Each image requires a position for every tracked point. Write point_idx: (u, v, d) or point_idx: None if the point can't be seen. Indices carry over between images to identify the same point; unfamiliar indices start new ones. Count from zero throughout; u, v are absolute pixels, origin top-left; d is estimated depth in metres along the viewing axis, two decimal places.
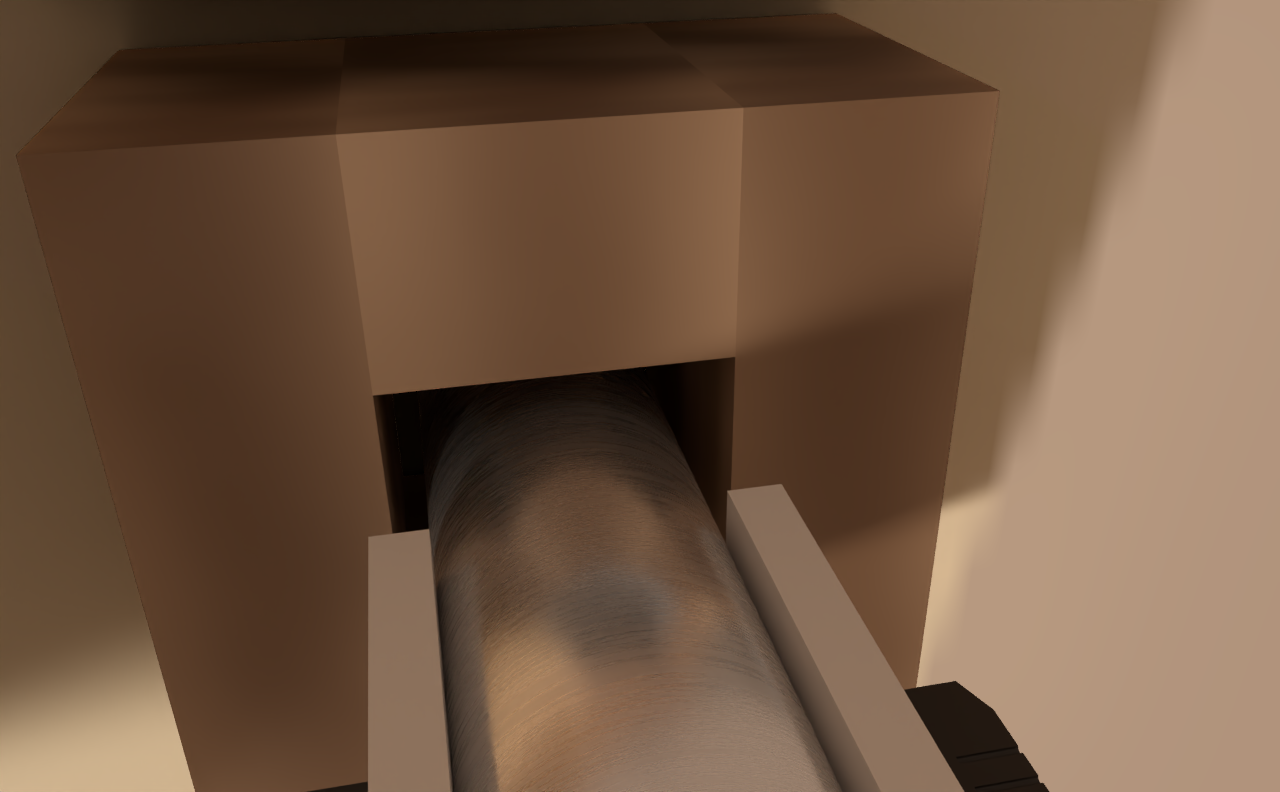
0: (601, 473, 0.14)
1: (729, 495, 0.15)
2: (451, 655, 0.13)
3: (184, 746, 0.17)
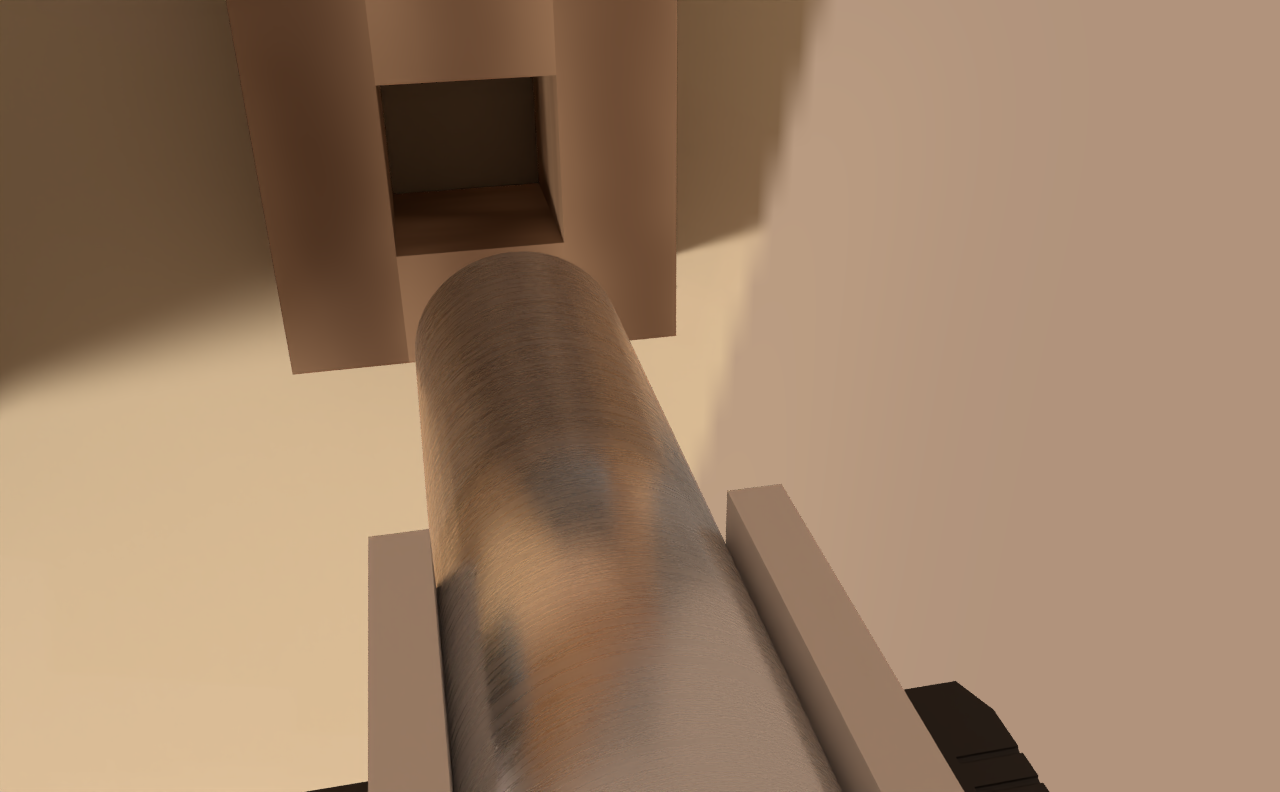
0: (599, 467, 0.14)
1: (729, 495, 0.15)
2: (450, 647, 0.13)
3: (277, 287, 0.33)
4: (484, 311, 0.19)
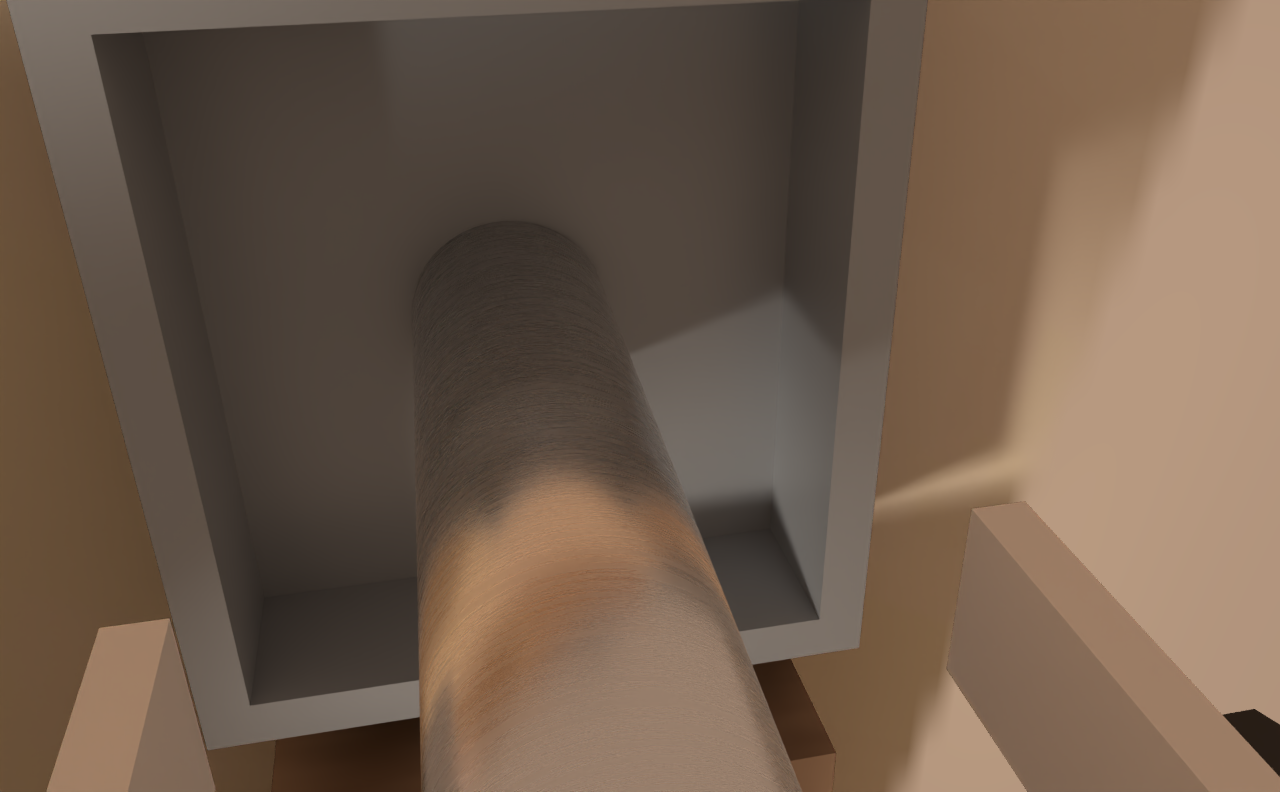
0: (563, 408, 0.16)
1: (974, 513, 0.14)
2: (424, 563, 0.15)
3: None
4: (472, 274, 0.20)
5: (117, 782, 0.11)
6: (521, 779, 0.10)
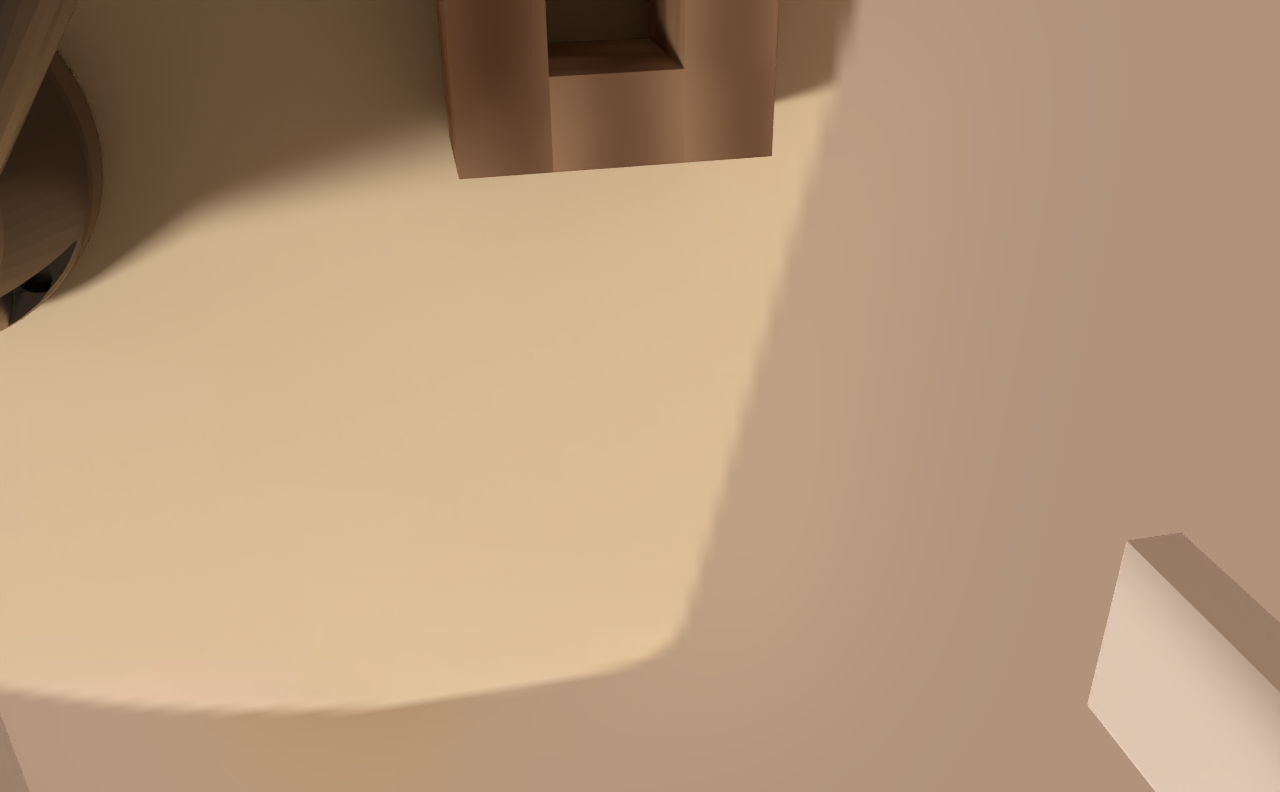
0: None
1: (1131, 546, 0.14)
2: None
3: (452, 101, 0.40)
4: None
5: None
6: None
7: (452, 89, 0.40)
